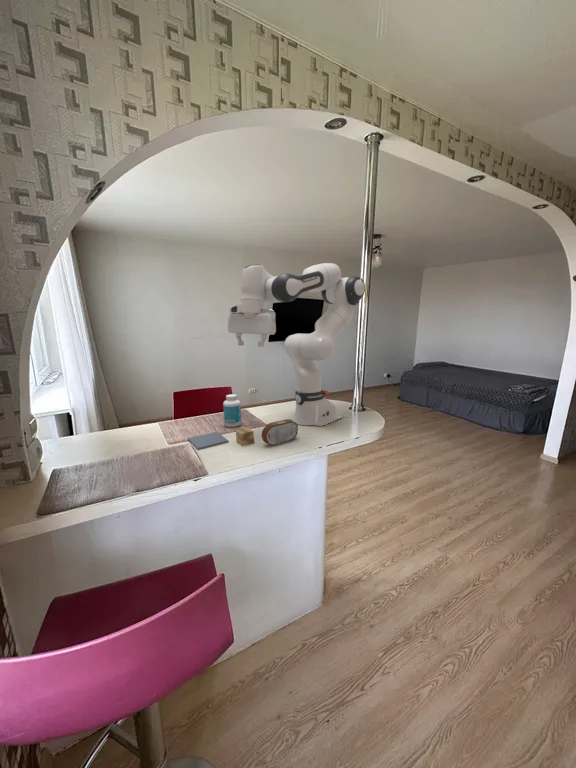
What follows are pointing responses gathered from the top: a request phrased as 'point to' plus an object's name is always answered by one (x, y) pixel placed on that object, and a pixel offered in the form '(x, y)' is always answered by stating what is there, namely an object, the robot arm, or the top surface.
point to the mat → (207, 440)
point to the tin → (279, 432)
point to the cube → (245, 436)
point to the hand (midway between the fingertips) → (250, 346)
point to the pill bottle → (232, 411)
